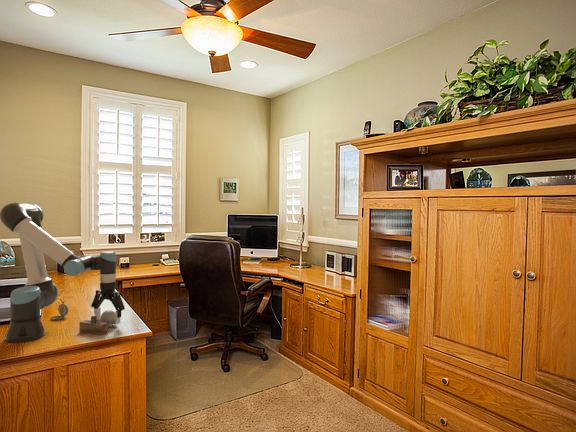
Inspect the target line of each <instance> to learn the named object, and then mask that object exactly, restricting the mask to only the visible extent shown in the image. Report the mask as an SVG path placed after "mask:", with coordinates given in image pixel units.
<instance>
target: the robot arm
mask: <svg viewBox="0 0 576 432" xmlns="http://www.w3.org/2000/svg"><path fill="white" fill-rule="evenodd" d="M44 217H45V215H44V211H43V210H42V208H41V207H40V206H38V204H34V203H30V202H11V203H8V204H6V205H5V206H3V207H2V208H1V209H0V221H1V223H2V224H3V225H4V226H5V227H6V228H7V229H8V230H10V231H11V232H12V233H14V234H18V236H19V241H20V247H21V252H22V256H23V262H24V268H25V271H26V272H25V273H26V278H27V281H26V283H24V286H21V287H17V288H16V289H13V290H12V291H11V293H10V298H9V301H10V305H9V310H10V323H9V326H8V329H7V332H6V334H5V342H8V343H26V342H30V341H35V340H37V339H38V340H39V339H40V338H42V337H43V336H45V328H44V326H43V323H42V321H41V310H42V309H43V308H47V307H49V306H51V305H52V304H54V302H56V301H57V299H58V297H59V289H58V286H57V285H55V284H54V283H53V279H52V278H51V277H49V276H48V271H47V266H46V261H45V256H44V255H47V257H50V259H52V260H53V261H55V262H56V263H57V264H59V265H60V266H61V267H63V270H64V273H65V274H66V275H67V276H70V277H73V276H78V275H81V274H83V273H85V272H89V271H99V289H96V290H95V295H94V297H93V300H92V302H91V305H90V306H91V308H93V309H94V313H93V314H94V316H96V318H100V317H101V305H102V303H103V302H104V301H105V300H107V301H110V302H111V304H112V306H113V307H114V309H115V310H116V311H114V312H115V324H116V325H119V324H121V317H122V311H124V310H126V308H125V305H124V302H123V299H122V297H121V291H116V288H117V281H116V279H117V255H116V252H114V251H111V250H110V251H101V252H100V254H99V255H76V254H75V253H74V252H72V251H71V250H70V249H69V248H67V247H66V246H64V245H63V244H62V243H60V242H59V241H58V240H57V239H55V238H54V237H53V236H52V235H50V234H49V233H48V232H47V231H45V230H43V229H42V222H43V220H44Z"/></svg>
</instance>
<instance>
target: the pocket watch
mask: <svg viewBox="0 0 576 432" xmlns="http://www.w3.org/2000/svg"><path fill="white" fill-rule="evenodd" d="M61 302H62V303H61V304H59V305H58V308H57V310H58V314H59V315H55V316H51V317H50V320H51V321H59V320H63V319H65V316H67V315H68V313H69V307H68V305H66V304H65V300H62V301H61Z"/></svg>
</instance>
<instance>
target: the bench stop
mask: <svg viewBox="0 0 576 432" xmlns="http://www.w3.org/2000/svg"><path fill="white" fill-rule="evenodd" d="M108 332H109V328H108V323H104V322H97V321H96V316H95V315H91V316H90V320H89V319H86V320H82V321H79V333H84V334H89V335H97V336H104V335H107V334H109V333H108Z"/></svg>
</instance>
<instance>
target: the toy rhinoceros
mask: <svg viewBox="0 0 576 432" xmlns="http://www.w3.org/2000/svg"><path fill="white" fill-rule="evenodd" d="M115 312H116V311H114V310H112V309H111V310H110V309H107V310H104V311H103V312H102V313H101V314H100V318H96V321H97V322H104V323H108V329H109V328H111V327H113V326H115V325H117V324H115Z"/></svg>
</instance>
